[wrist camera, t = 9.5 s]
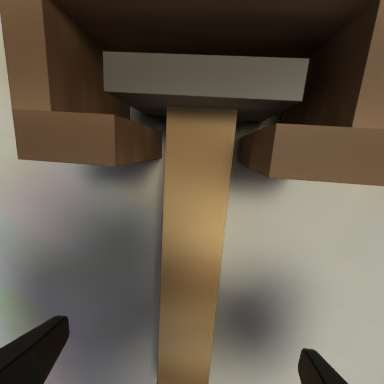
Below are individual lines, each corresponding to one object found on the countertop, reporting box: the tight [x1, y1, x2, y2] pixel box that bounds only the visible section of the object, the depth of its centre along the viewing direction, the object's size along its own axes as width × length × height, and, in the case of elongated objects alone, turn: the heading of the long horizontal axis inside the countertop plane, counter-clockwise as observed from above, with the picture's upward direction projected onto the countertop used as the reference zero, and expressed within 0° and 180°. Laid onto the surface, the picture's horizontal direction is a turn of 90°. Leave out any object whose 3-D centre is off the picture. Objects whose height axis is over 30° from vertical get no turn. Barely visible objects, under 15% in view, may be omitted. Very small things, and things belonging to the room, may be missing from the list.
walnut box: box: [0, 0, 384, 186], centre depth 7 cm, size 8×16×9 cm, turn 86°
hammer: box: [103, 51, 309, 384], centre depth 11 cm, size 19×6×5 cm, turn 176°
